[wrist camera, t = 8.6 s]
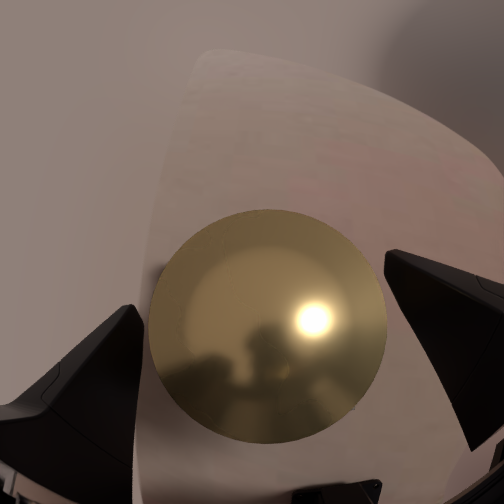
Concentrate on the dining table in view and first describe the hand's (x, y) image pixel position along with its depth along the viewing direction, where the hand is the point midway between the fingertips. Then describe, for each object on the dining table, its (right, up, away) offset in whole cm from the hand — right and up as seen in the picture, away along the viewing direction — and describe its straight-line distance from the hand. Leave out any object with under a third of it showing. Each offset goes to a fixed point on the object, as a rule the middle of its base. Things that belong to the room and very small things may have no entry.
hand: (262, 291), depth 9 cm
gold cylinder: (+1, -4, +7) cm, 8 cm away
